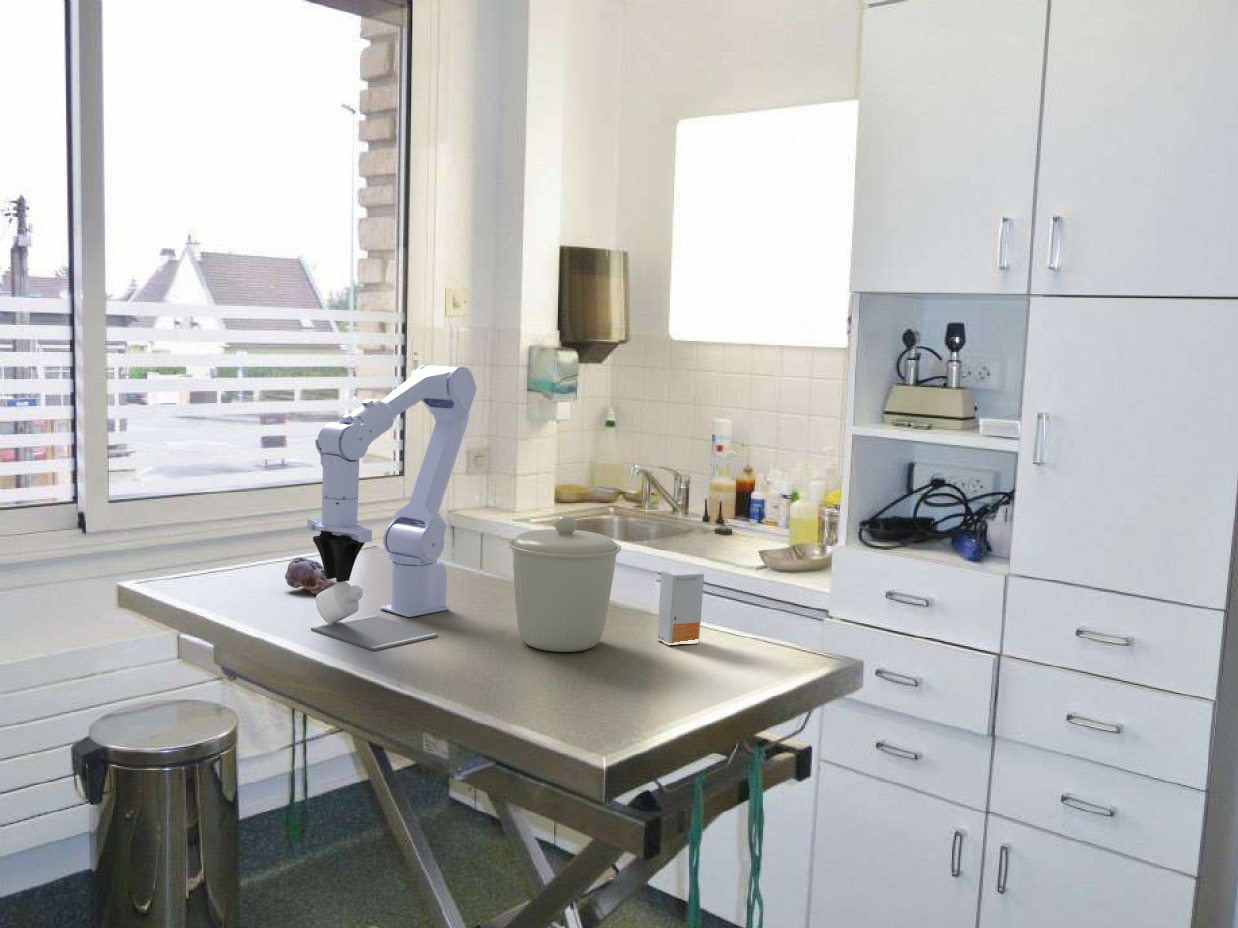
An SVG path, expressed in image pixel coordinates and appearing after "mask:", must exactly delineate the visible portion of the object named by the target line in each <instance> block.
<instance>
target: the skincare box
mask: <svg viewBox="0 0 1238 928" xmlns="http://www.w3.org/2000/svg"><path fill="white" fill-rule="evenodd" d="M704 580H705V574H704V573H702V572H700V571H697V570H695V569H692V568H689V569H688V568H687V569H679V568H678V569H670V570H669V569H667V570H661V574H660V585H659V587H660V589H659V603H658V617H657V618H658V619H657V631H656V639H657V638H659V639H661V640H664V641H665V642H668V643H674V642H680V641H688V640H695V639H699V640H700V635H701V620H702V609H703V608H702V607H703V592H704V591H703V590H704V582H705V581H704Z"/></svg>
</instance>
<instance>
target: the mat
mask: <svg viewBox="0 0 1238 928" xmlns="http://www.w3.org/2000/svg"><path fill="white" fill-rule="evenodd" d="M310 631H311V632H312V631H313V632H315V633H319V634H321V635H325V636H327V637H331V638H333V639H336V640H339V641H342V642H345V643H349V644H352V645H353V646H354V645H355V646H358V647H361V648H364V649H366V650H369V651H373V652H375V651H379V650H384V649H388V648H389V649H390V648H393V647H397V646H402V645H407V644H411V643H415V642H420V641H423V640H424V641H425V640H428V639H434V638H437V637H438V633H435V632H432V631H428V630H426V629H425V630H424V629H423V628H419V627H415V626H411V625H409V624H405V623H403V622H399V621H395V620H391V619H388V618H384V617H382V616H379V615H376V614H375V615H370V616H365V617H359V618H353V619H349V620H344V621H342V620H341V621H339V622H337V623H334V624H328V623H326V624H322V625H317V626H312V627H310Z"/></svg>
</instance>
